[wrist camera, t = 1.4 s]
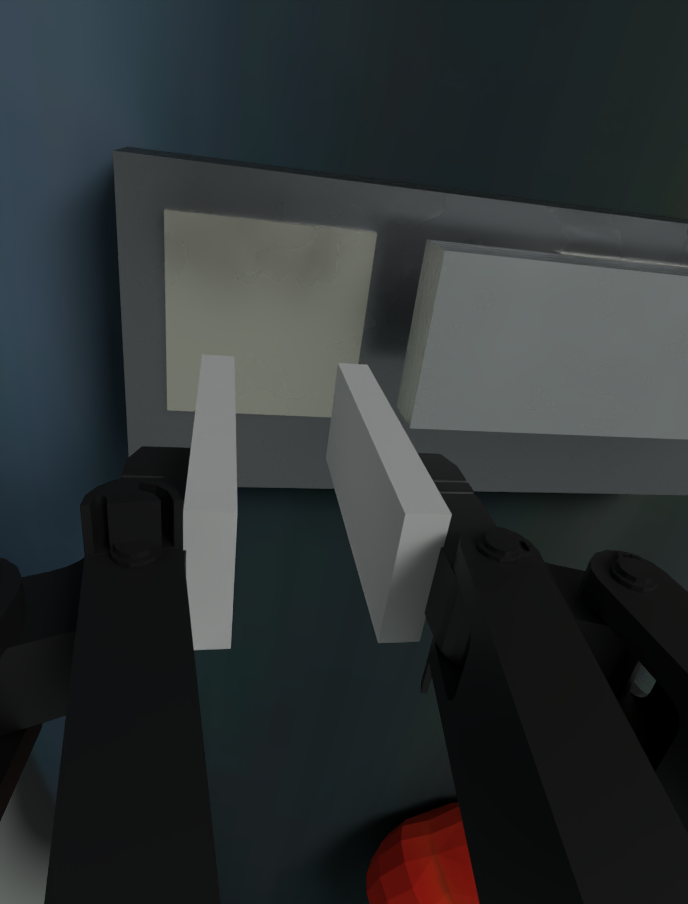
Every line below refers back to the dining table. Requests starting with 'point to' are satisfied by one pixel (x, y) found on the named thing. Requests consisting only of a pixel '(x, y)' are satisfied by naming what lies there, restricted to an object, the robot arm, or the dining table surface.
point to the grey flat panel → (546, 345)
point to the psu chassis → (338, 312)
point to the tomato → (424, 862)
